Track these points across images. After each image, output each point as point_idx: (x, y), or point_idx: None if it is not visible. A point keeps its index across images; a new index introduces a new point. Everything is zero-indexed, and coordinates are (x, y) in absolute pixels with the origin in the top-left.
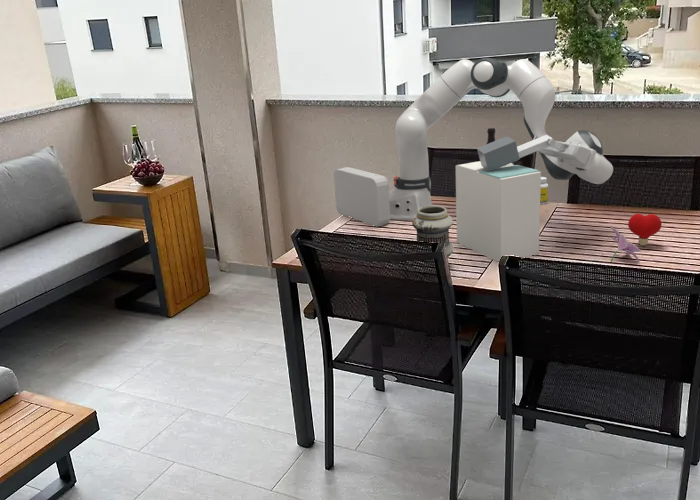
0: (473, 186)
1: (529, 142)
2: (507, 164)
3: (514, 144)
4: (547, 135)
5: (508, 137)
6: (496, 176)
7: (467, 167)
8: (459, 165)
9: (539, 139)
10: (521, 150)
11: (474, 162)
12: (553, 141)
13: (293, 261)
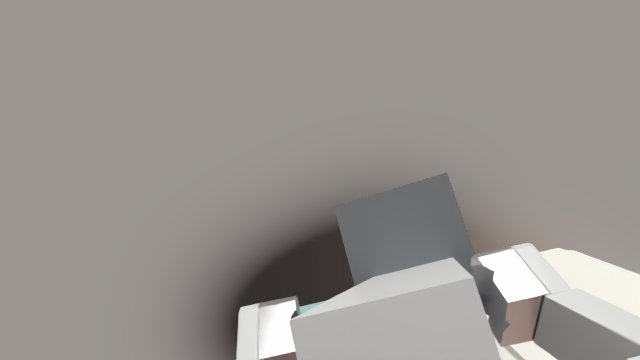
0: None
1: (441, 267)
2: (527, 353)
3: (341, 222)
4: (433, 286)
5: (419, 181)
6: (308, 305)
7: None
8: (549, 250)
9: (416, 279)
10: (369, 279)
11: (617, 273)
12: (242, 347)
13: None
